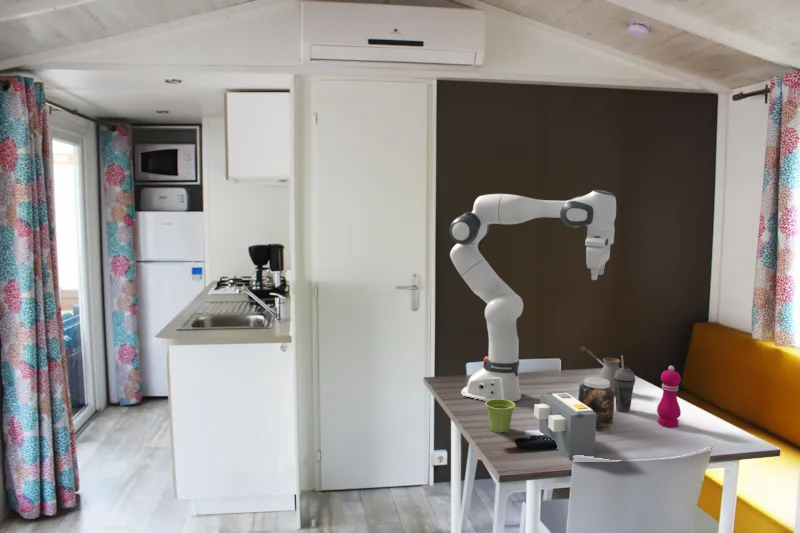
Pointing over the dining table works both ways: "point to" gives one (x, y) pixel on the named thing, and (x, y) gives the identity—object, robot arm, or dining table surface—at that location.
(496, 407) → the plant pot
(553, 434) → the console
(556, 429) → the button
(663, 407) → the pepper mill
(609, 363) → the coffee pot
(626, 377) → the beverage cup
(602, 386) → the jar
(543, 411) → the button
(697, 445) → the dining table surface
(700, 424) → the dining table surface
